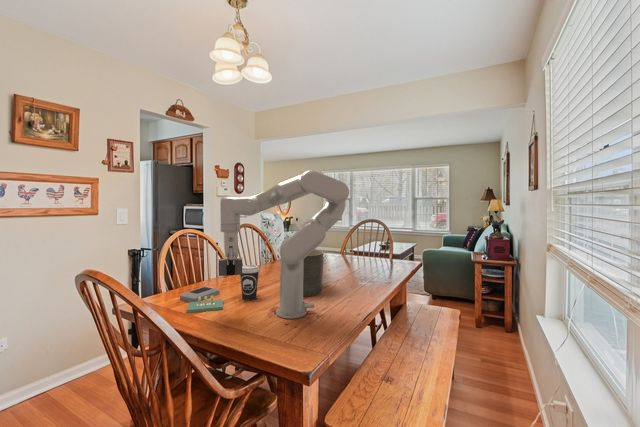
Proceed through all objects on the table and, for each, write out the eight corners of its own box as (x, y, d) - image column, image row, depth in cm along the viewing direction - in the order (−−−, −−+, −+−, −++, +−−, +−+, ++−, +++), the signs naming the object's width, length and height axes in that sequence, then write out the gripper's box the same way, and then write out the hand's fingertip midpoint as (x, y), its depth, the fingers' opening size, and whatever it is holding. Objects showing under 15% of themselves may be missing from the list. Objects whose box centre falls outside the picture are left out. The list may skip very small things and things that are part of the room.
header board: (222, 302, 137) (222, 291, 137) (222, 309, 128) (222, 298, 128) (189, 304, 133) (189, 294, 133) (186, 312, 123) (186, 301, 123)
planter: (319, 298, 144) (319, 256, 143) (274, 295, 148) (274, 254, 147) (325, 285, 166) (326, 249, 165) (286, 283, 169) (287, 248, 169)
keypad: (179, 293, 139) (205, 285, 153) (179, 301, 139) (205, 292, 153) (194, 296, 135) (219, 287, 148) (194, 304, 135) (219, 295, 148)
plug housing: (241, 272, 125) (241, 257, 124) (242, 274, 121) (242, 259, 121) (218, 273, 122) (218, 258, 122) (218, 276, 118) (218, 260, 118)
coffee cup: (263, 297, 144) (263, 266, 143) (246, 302, 137) (246, 269, 136) (252, 293, 150) (252, 263, 150) (235, 297, 144) (235, 266, 143)
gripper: (241, 229, 114) (241, 277, 115) (239, 226, 130) (239, 268, 130) (220, 230, 112) (220, 279, 112) (220, 226, 127) (220, 269, 128)
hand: (230, 272), depth 121 cm, fingers closed on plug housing, 4 cm apart
